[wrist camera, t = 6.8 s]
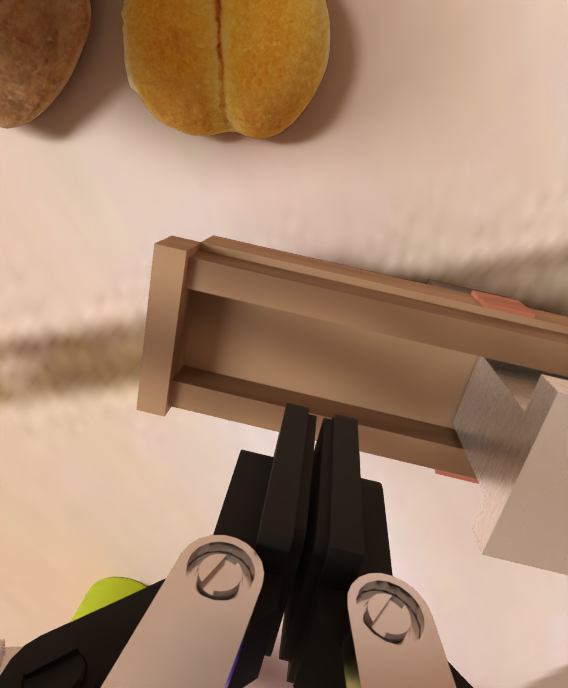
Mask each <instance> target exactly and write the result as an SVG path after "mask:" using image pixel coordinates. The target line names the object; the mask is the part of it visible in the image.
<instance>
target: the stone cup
mask: <svg viewBox="0 0 568 688" xmlns="http://www.w3.org/2000/svg"><path fill="white" fill-rule="evenodd" d="M90 23H91V4H90V0H0V127H2V128H13V127H18V126H21V125H24V124H27V123H29V122H31V121H32V120H33V119H35V118H36V117H38V116H39V115H40V114H41V113H42V112H43V111H44V110H45V109H47V108H48V107H49V106H50V105H51V103H52V102H53V101H54V100H55V99H56V98H57V96H58V95H59V94H60V93H61V91H62V90H63V88H64V87H65V85H66V84H67V82H68V81H69V79H70V77H71V75H72V73H73V71H74V69H75V66H76V64H77V62H78V59H79V57H80V54H81V52H82V50H83V48H84V45H85V43H86V40H87V37H88V34H89V31H90Z"/></svg>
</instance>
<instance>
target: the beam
mask: <svg viewBox="0 0 568 688" xmlns="http://www.w3.org/2000/svg"><path fill="white" fill-rule="evenodd" d="M479 356H480V357H485V358H489V359H493V360H498V361H502V362H506V363H511V364H515V365H519V366H524V367H528V368H532V369H536V370H541V371H545V372H549V373H554V374H558V375H562V376H567V377H568V317H567V316H563V315H558V314H554V313H550V312H545V311H541V310H536V309H532V308H528V307H526V306H525V305H523V304H522V303H521V302H519V301H518V300H514V299H509V298H506V297H503V296H499V295H494V294H490V293H486V292H481V291H477V290H473V289H468V288H464V287H459V286H455V285H451V284H446V283H442V282H438V281H433V280H429V279H428V282H427V284H423V283H419V282H414V281H410V280H406V279H401V278H397V277H393V276H388V275H384V274H379V273H375V272H371V271H366V270H362V269H358V268H353V267H349V266H345V265H340V264H336V263H331V262H327V261H323V260H318V259H314V258H310V257H305V256H301V255H297V254H292V253H288V252H283V251H279V250H275V249H270V248H266V247H262V246H257V245H253V244H249V243H244V242H240V241H236V240H231V239H227V238H222V237H218V236H214V235H213V236H211V237H210V238H208V239H206V240H204V241H203V242H197V241H193V240H188V239H184V238H180V237H175V236H170V237H168V238H166V239H164V240H162V241H159V242H157V243H155V244H154V253H153V262H152V271H151V281H150V290H149V299H148V308H147V318H146V327H145V336H144V345H143V355H142V364H141V373H140V382H139V392H138V401H137V410H140V411H144V412H148V413H152V414H156V415H161V416H165V415H166V414H167V412H168V411H169V409H170V408H171V406H172V407H176V408H181V409H185V410H189V411H193V412H197V413H202V414H206V415H210V416H214V417H218V418H223V419H227V420H231V421H235V422H239V423H244V424H248V425H252V426H256V427H260V428H265V429H269V430H273V431H277V432H280V428H281V424H282V420H283V415H284V411H285V407H286V403H292V404H296V405H300V406H304V407H308V408H309V414H311V415H315V416H317V421H316V432H315V441H317V438H318V435H319V431H320V428H321V424H322V421H323V418H328V419H332V417H333V415H334V414H338V415H342V416H347V417H351V418H355V419H357V420H358V436H359V451H361V452H365V453H370V454H374V455H378V456H382V457H386V458H391V459H395V460H399V461H403V462H407V463H412V464H416V465H420V466H424V467H428V468H433V469H435V473H436V474H440V475H444V476H448V477H452V478H457V479H461V480H465V481H469V482H473V483H478V484H479V482H478V480H477V478H476V475H475V473H474V471H473V469H472V466H471V464H470V462H469V459H468V457H467V455H466V453H465V450H464V448H463V446H462V443H461V441H460V439H459V437H458V434H457V432H456V430H455V428H454V425H453V421H454V419H455V416H456V414H457V411H458V408H459V406H460V403H461V401H462V398H463V396H464V393H465V390H466V388H467V385H468V383H469V380H470V378H471V375H472V372H473V370H474V367H475V365H476V362H477V360H478V357H479Z"/></svg>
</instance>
